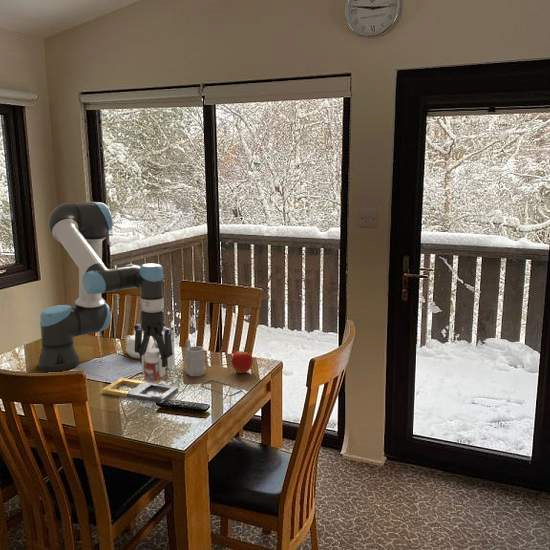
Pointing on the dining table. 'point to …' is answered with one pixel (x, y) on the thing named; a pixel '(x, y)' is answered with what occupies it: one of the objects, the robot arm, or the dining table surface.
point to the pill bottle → (152, 366)
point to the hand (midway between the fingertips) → (153, 373)
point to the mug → (194, 360)
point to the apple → (242, 361)
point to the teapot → (131, 345)
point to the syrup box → (172, 358)
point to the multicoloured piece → (140, 390)
